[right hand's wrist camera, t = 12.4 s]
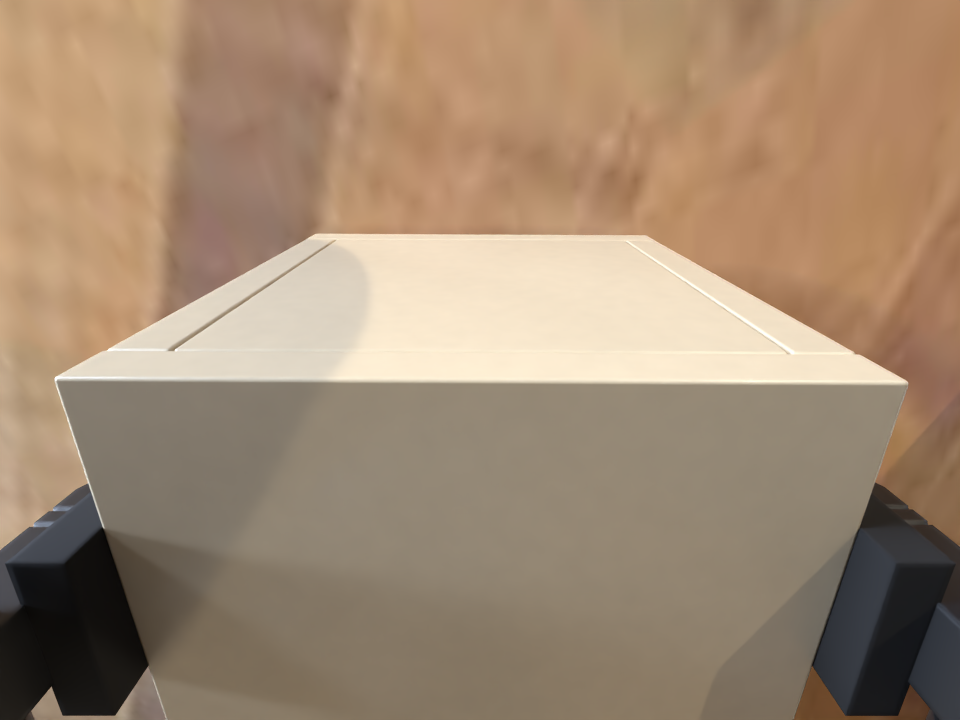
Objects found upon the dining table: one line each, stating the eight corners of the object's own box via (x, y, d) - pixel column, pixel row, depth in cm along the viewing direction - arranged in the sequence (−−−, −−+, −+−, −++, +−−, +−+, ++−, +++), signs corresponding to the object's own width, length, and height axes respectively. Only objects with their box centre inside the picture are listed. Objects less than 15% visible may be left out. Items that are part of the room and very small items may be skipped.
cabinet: (590, 700, 25) (666, 1091, 15) (367, 699, 25) (287, 1090, 15) (647, 235, 17) (912, 382, 6) (315, 233, 17) (50, 377, 6)
